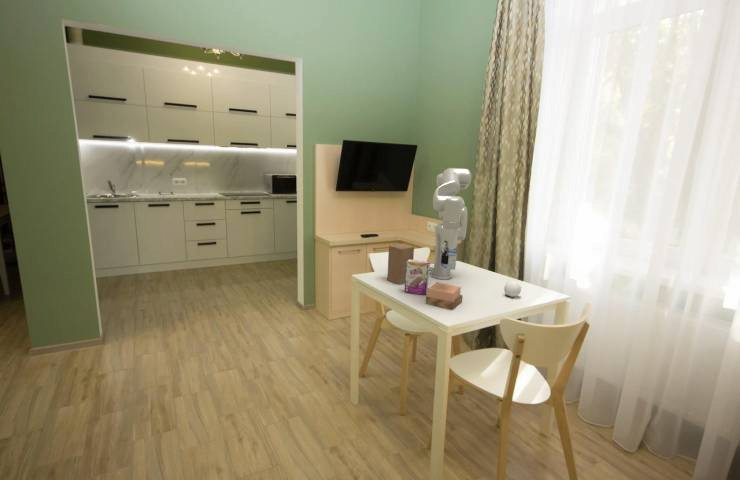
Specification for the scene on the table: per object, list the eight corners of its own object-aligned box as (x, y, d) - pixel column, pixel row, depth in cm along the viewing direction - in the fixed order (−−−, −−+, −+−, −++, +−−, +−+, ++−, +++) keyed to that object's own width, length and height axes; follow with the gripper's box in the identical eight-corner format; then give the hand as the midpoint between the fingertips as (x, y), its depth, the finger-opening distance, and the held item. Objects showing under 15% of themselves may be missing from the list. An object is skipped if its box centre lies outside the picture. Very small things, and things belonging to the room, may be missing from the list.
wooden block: (399, 285, 203) (401, 248, 199) (386, 280, 210) (388, 245, 207) (412, 281, 210) (414, 246, 206) (399, 277, 217) (401, 243, 213)
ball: (520, 300, 187) (522, 284, 185) (503, 297, 189) (505, 282, 187) (519, 294, 194) (521, 280, 193) (503, 292, 197) (504, 278, 195)
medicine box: (440, 265, 179) (441, 247, 177) (449, 265, 180) (451, 247, 178) (446, 269, 171) (447, 251, 170) (455, 269, 172) (457, 251, 170)
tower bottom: (425, 304, 177) (426, 296, 176) (436, 297, 188) (437, 289, 187) (452, 311, 170) (452, 302, 169) (461, 303, 181) (462, 295, 180)
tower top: (427, 296, 176) (427, 288, 175) (436, 290, 186) (436, 282, 185) (452, 302, 170) (453, 293, 169) (460, 294, 180) (460, 286, 180)
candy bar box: (404, 292, 191) (405, 261, 188) (406, 289, 196) (408, 259, 193) (426, 295, 188) (428, 263, 184) (427, 292, 192) (430, 261, 189)
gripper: (450, 222, 181) (447, 257, 184) (436, 226, 166) (433, 264, 170) (465, 223, 177) (462, 259, 180) (452, 228, 162) (449, 267, 166)
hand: (448, 261), depth 175 cm, fingers closed on medicine box, 9 cm apart
